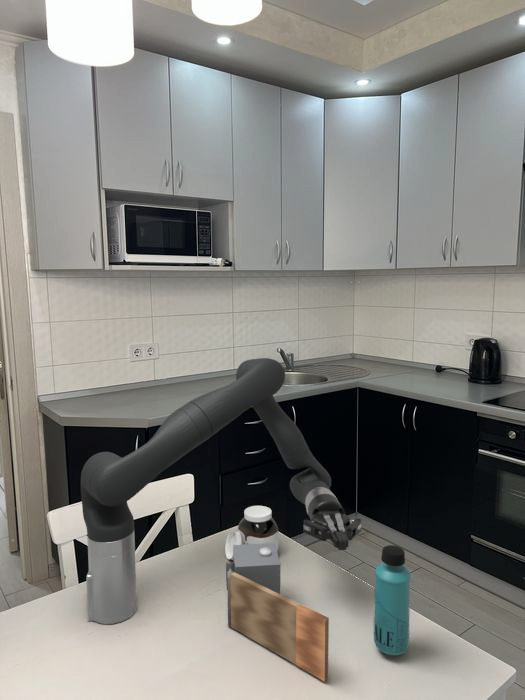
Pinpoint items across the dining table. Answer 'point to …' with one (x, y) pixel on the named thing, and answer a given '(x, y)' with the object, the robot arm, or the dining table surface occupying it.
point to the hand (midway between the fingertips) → (343, 545)
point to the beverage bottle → (392, 602)
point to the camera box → (257, 564)
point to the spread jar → (253, 530)
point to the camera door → (279, 624)
